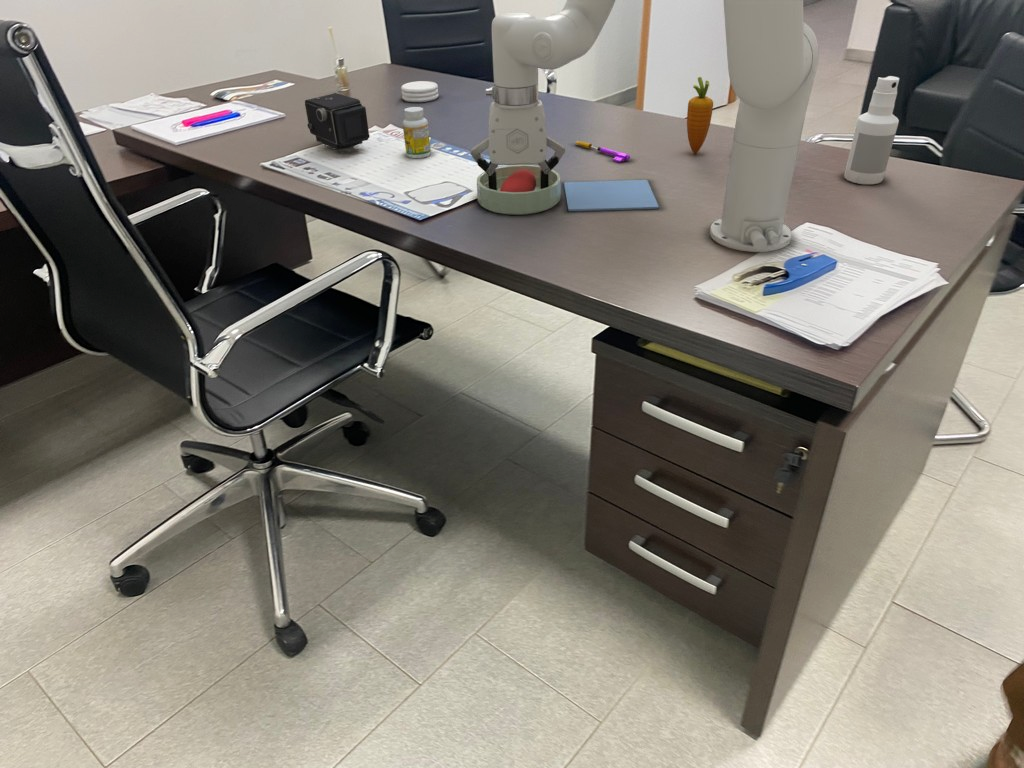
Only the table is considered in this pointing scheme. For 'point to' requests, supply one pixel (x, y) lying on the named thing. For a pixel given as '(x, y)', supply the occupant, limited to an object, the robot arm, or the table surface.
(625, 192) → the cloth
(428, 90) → the coaster
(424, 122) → the supplement bottle
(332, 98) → the camera
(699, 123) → the carrot
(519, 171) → the red oval piece
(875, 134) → the spray bottle
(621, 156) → the purple and gold rod
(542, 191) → the bowl
